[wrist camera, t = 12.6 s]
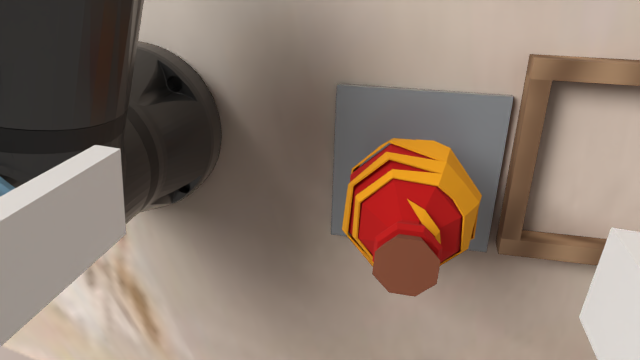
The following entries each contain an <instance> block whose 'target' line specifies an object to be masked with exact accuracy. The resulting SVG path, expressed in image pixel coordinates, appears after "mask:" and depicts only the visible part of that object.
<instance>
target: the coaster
mask: <svg viewBox="0 0 640 360" xmlns="http://www.w3.org/2000/svg"><path fill="white" fill-rule="evenodd" d="M512 103H513V96H512V95H500V94H485V93H470V92H455V91H440V90H425V89H411V88H396V87H381V86H366V85H351V84H337V94H336V119H335V144H334V170H333V195H332V220H331V234H333V235H342V236H347V235H346V234H345V233H344V231H343V230H342V225H343V217H344V210H345V203H346V196H347V189H348V184H349V183H350V175H351V171H352V168H353V167H354V166H356V165H357V164H358V163H359V162H361V161H362V160H363V159H364V158H366V157H367V156H368V155H369V154H371V153H372V152H373V151H374V150H375V149H377V148H378V147H379V146H380V145H382V144H384V143H386V142H387V141H389V140H391V139H393V138H399V139H412V140H416V139H419V140H433V141H436V142H438V143H440V144H443V145H445V146H447V147H449V148H451V150H452V151H453V153H454V154H455V156H456V157H457V159H458V160H459V162H460V163H461V165H462V166H463V168H464V169H465V171H466V172H467V174H468V175H469V177H470V178H471V180H472V181H473V183H474V184H475V186H476V187H477V189H478V190H479V192H480V193H481V195H482V197H481V201H480V205H479V209H478V216H477V224H476V231H475V238H474V239H472V240H470V243H469V248H468V249H467V250H472V251H480V252H486V251H487V246H488V240H489V234H490V229H491V223H492V217H493V211H494V206H495V200H496V194H497V189H498V183H499V177H500V171H501V166H502V160H503V154H504V149H505V143H506V137H507V132H508V126H509V120H510V114H511V109H512ZM390 144H391V143H388V144H387V145H385V146H384V147H383V148H381V149H380V150H379V151H377V152H376V153H375V154H373V155H372V156H371V157H369V158H368V159H367V160H366V161H364V162H363V163H362V164H361V165H360V166H362V165H363V164H364V163H366V162H367V161H368V160H370V159H371V158H372V157H374V156H375V155H376V154H378V153H379V152H380V151H382V150H383V149H384V148H386V147H387V146H388V145H390ZM348 233H349V232H348ZM349 234H350V233H349ZM350 235H351V234H350Z"/></svg>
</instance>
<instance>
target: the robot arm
mask: <svg viewBox="0 0 640 360" xmlns="http://www.w3.org/2000/svg"><path fill="white" fill-rule="evenodd" d="M143 3H144V0H0V347H1V346H2V345H3V344H4V343H5V342H6V341H7V340H9V339H10V338H11V337H12V336H13V335H14V334H15V333H16V332H17V331H19V330H20V329H21V328H22V327H23V326H24V325H25V324H26V323H27V322H29V321H30V320H31V319H32V318H33V317H34V316H35V315H36V314H37V313H39V312H40V311H41V310H42V309H43V308H44V307H45V306H46V305H48V304H49V303H50V302H51V301H52V300H53V299H54V298H55V297H56V296H58V295H59V294H60V293H61V292H62V291H63V290H64V289H65V288H66V287H68V286H69V285H70V284H71V283H72V282H73V281H74V280H75V279H76V278H78V277H79V276H80V275H81V274H82V273H83V272H84V271H85V270H86V269H88V268H89V267H90V266H91V265H92V264H93V263H94V262H95V261H97V260H98V259H99V258H100V257H101V256H102V255H103V254H104V253H105V252H107V251H108V250H109V249H110V248H111V247H112V246H113V245H114V244H115V243H117V242H118V241H119V240H120V239H121V238H122V237H123V236H124V235H125V234H126V224H127V223H128V222H129V221H130V220H131V219H132V218H133V217H134V216H136V215H137V214H138V213H139V212H143V211H147V210H151V209H155V208H159V207H163V206H167V205H170V204H173V203H175V202H178V201H180V200H182V199H183V198H185V197H186V196H188V195H189V194H191V193H192V192H193V191H194V190H195V189H196V188H197V187H198V186H199V185H200V184H201V183H202V182H203V181H204V180H205V179H206V178H207V177H208V176H209V174H210V173H211V171H212V170H213V168H214V166H215V164H216V161H217V159H218V155H219V151H220V146H221V124H220V118H219V114H218V111H217V107H216V105H215V102H214V100H213V98H212V95H211V94H210V92H209V90H208V88H207V87H206V85H205V83H204V82H203V81H202V79H201V78H200V77H199V76H198V74H197V73H196V72H195V71H194V70H193V69H192V68H191V67H190V66H189V65H188V64H187V63H185V62H184V61H183V60H182V59H180V58H179V57H178V56H176V55H174V54H173V53H171V52H169V51H167V50H165V49H163V48H161V47H159V46H156V45H153V44H149V43H144V42H138V36H139V30H140V23H141V16H142V9H143ZM579 318H580V321H581V323H582V325H583V328H584V330H585V332H586V335H587V337H588V339H589V342H590V344H591V346H592V348H593V351H594V353H595V355H596V358H597V360H640V232H637V231H631V230H625V229H618V228H612V227H611V230H610V232H609V235H608V238H607V241H606V244H605V246H604V249H603V252H602V255H601V257H600V260H599V263H598V266H597V269H596V271H595V274H594V277H593V280H592V282H591V285H590V288H589V291H588V294H587V296H586V299H585V302H584V305H583V307H582V310H581V313H580V316H579Z"/></svg>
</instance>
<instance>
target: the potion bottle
mask: <svg viewBox="0 0 640 360" xmlns="http://www.w3.org/2000/svg"><path fill="white" fill-rule="evenodd" d="M388 143H391V144H390V145H388V146H387V147H386V148H384V149H383V150H382V151H380V152H379V153H378V154H376V155H375V156H374V157H372V158H371V159H370V160H368V161H367V162H366V163H364V164H363V165H362V166H360V165H361V164H362V163H363V162H364V161H366V160H367V159H368V158H369V157H371V156H372V155H373V154H375V153H376V152H377V151H379V150H380V149H381V148H383V147H384V146H385V145H387V144H388ZM481 197H482V195H481V193H480V192H479V190H478V189H477V187H476V186H475V184H474V183H473V181H472V180H471V178H470V177H469V175H468V174H467V172H466V171H465V169H464V168H463V166H462V165H461V163H460V162H459V160H458V159H457V157H456V156H455V154H454V153H453V151H452V150H451V148H449V147H447V146H445V145H443V144H440V143H438V142H436V141H433V140H419V139H416V140H412V139H399V138H393V139H391V140H389V141H387V142H386V143H384V144H382V145H380V146H379V147H378V148H377V149H375V150H374V151H373V152H372V153H371V154H369V155H368V156H367V157H366V158H364V159H363V160H362V161H361V162H359V163H358V164H357V165H356V166H354V167H353V168H352V171H351V175H350V183H349V184H348V189H347V196H346V203H345V210H344V217H343V225H342V230H343V231H344V233H345V234H346V235H347V236H348V238H349V239H350V240H351V241H352V242H353V244H354V245H355V246H356V247H357V248H358V250H359V251H360V252H361V253H362V254H363V256H364V257H365V258H366V259H367V260H368V262H369V263H370V264H371V265H372V266H373V273H372V274H373V275H374V276H375V277H376V279H377V280H378V281H379V282H380V283H381V284H382V285H383V286H384V287H385V288H386V290H387V291H388V292H390V293H397V294H403V295H409V296H417V295H418V294H420V293H422V292H423V291H425V290H427V289H429V288H430V287H432V286H434V285H435V284H437V279H438V273H439V267H440V266H441V265H442V264H444V263H445V262H447V261H449V260H450V259H452V258H454V257H455V256H457V255H459V254H460V253H462V252H464V251H465V250H467V249H468V248H469V243H470V240H472V239H474V238H475V231H476V224H477V216H478V209H479V205H480V201H481ZM348 232H349V233H350V234H351V235H350V234H349V233H348Z"/></svg>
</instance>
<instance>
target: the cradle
mask: <svg viewBox="0 0 640 360" xmlns="http://www.w3.org/2000/svg"><path fill="white" fill-rule="evenodd" d="M552 80H554V81H571V82H587V83H603V84H619V85H635V86H640V60H625V59H607V58H589V57H570V56H552V55H534V54H530V56H529V62H528V67H527V73H526V78H525V84H524V89H523V95H522V100H521V106H520V111H519V117H518V122H517V128H516V133H515V139H514V144H513V150H512V155H511V161H510V166H509V172H508V177H507V183H506V188H505V194H504V199H503V205H502V210H501V216H500V221H499V227H498V232H497V238H496V246H497V250H498V254H504V255H512V256H521V257H530V258H538V259H547V260H556V261H564V262H573V263H582V264H590V265H598V263H599V260H600V257H601V255H602V252H603V249H604V246H605V244H606V241H607V239H600V238H591V237H581V236H572V235H563V234H553V233H544V232H535V231H525V230H522V228H523V223H524V218H525V213H526V208H527V203H528V198H529V193H530V188H531V183H532V178H533V173H534V168H535V163H536V159H537V154H538V149H539V144H540V139H541V134H542V129H543V124H544V119H545V114H546V109H547V104H548V99H549V94H550V89H551V84H552Z"/></svg>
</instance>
